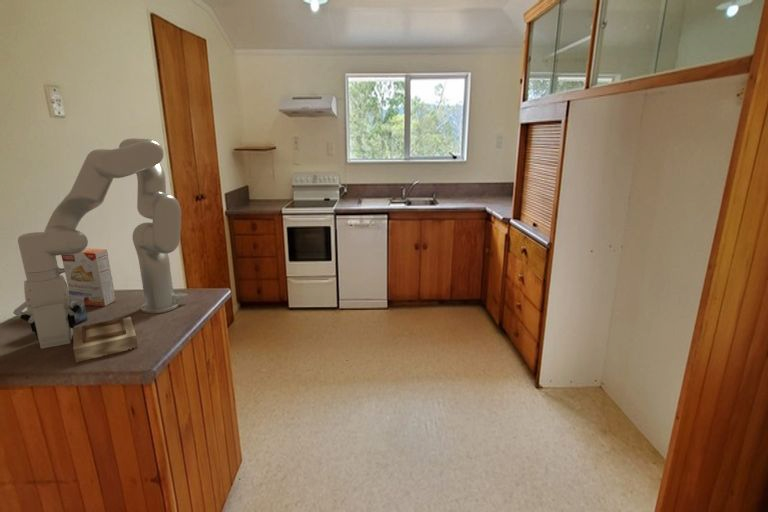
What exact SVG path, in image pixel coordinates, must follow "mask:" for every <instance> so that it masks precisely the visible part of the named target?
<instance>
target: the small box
mask: <svg viewBox="0 0 768 512" xmlns="http://www.w3.org/2000/svg"><path fill="white" fill-rule="evenodd" d="M69 294H71V295H74V296H77V297H80V298H82V299H83V293H82V292H76V291H69ZM76 303H77V302H76V301H73V300H71V306H70V307H72V308H73V307H74V306H75V305H76ZM86 310H87V309H86V305H85V304H84V302H83V303H82V305H81V306H80V308H79V309H78V310H77V312H76V313H75V314H74V316H75V321H76V324H73V327H76V326H78V325H80V324H82V323H85V322H87V321H88V317H87V311H86ZM86 320H87V321H86Z"/></svg>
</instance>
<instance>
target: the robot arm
mask: <svg viewBox="0 0 768 512" xmlns="http://www.w3.org/2000/svg"><path fill="white" fill-rule="evenodd" d="M163 159H164V149H163V147H162V146H161V144H160V143H159V142H157V141H156V140H154V139H149V138H137V137H136V138H133V137H132V138H126V139H124V140H122V141H121V142H120V144H119V145H118V148H113V149H106V148H105V149H104V148H98V149H93V150H92V151H90V152H89V153H88V154H87V155H86V157H85V160H84V162H83V164H82V165H81V168H80V170H79V173H78V174H77V176H76V179H75V181H74V183H73V186H72V188H71V190H70V191H69V192H68V194H67V195H65V197H64V198H63V199H62V201H61V202H60V203H59V204H58V205H57V207H55V209H54V210H53V212H52V214H51V215H50V218H49V220H48V223H47V225H46V226H45V228H44V231H37V232H29V233H28V232H27V233H23V234H21V235H19V237H18V238H17V245H18V249H19V253H20V256H21V261H22V265H23V269H24V274H25V278H26V280H24V283H23V288H24V289H23V290H24V299H25V301H24V302H23V303H21V304H20V305H19V306H18V307H16V308H15V309H14V310H13V311H12V313H13V315H15V316H17V317H18V318H20V320H24V321H25V322H28V324H30V328H31V331H32V332H31V333H35V336H38V334H37V329H36V325H35V321H34V316H33V312H32V309H33V308H38V307H44V306H50V305H55V304H62V303H63V304H64V306H65V309H66V312H67V313H68V319H69V323H70V328H72V329H74V326H73V324H76V321H75V316H74V314H75V313H76V312H77V310H78V309H79V308H80V306H81V305H82V303H83V302H84V299H82V298H80V297H77V296H74V295H71V294H69V289H68V285H67V280H66V279H65V277H64V275H63V273H64V274H65V268H64V267H63V268H62V267H61V268H60V267H59V265H58V261H57V256H61V255H72V254H77V253H80V252H82V251H83V250H84V249H85V248H88V244H89V243H88V241H89V240H88V238H87V236H86V235H85V234H84V233H83V232H82V231H80V230H78V229H77V227H78V225H79V223H80V222H81V220H82V218H84V217H85V215H86V214H88V213H90V212H91V211H93V210H94V209H96V208H98V207H99V206H101V205H102V204H103V203H104V201H105V198H106V196H107V194H108V191H109V190H110V186H111V184H112V182H113V180H114V179H120V178H121V179H122V178H126V177H128V176H132V175H134V174H136V178H137V201H136V204H137V205H136V208H137V211H138V213H139V215H140V216H142V218H143V217H144V218H145V219H149V220H152V222H143V223H139V225H137V226H136V227H135V228H134V229H133V231H132V242H133V245H134V248H135V251H136V255H137V259H138V265H139V270H140V278H141V284H142V291H143V296H144V303H143V304H142V305H141V306H140V309H141V311H142V312H143V313H147V314H160V313H167V312H170V311H172V310H174V309H176V308H178V307H179V306H180V305H181V304H180V300H185V299H189V294H188V293H186V292H185V293H183V292H179V293H175V291H174V287H173V286H174V285H173V278H172V272H171V262H170V257H169V254H170V253H173V252H175V250H176V249H178V247H179V245H180V240H181V227H182V208H181V205H180V203H179V200H178V199H177V198H176V197H174V196H173V195H171V194H168V193H167V190H166V189H167V184H166V175H165V171H164V168H163V166H162V164H161V162H162V161H163ZM61 274H62V275H61ZM71 300H73V301H76V302H77V303H76V305H75V306H74V307H73V308H72V307H70V306H71ZM25 309H27V313H24V312H23V311H24V310H25Z"/></svg>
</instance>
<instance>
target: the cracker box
mask: <svg viewBox="0 0 768 512" xmlns="http://www.w3.org/2000/svg"><path fill="white" fill-rule="evenodd" d="M60 256H61V260H62V264H63V268H65V273H64V275H65V278H66V279H65V281H66V284H67V287H68V290H69V291H76V292H82V293H83V299H84V304H85V306H91V305H93V306H95V307H102V308H103V307H104V308H105V307H107V306H109V305H111V304H113V303H115V302H116V301H117V299H116V294H115V288H114V282H113V276H112V271H111V266H110V260H109V259H110V258H109V253H108V250H107V249H105V248H88V247H86V248H85V249H84V250H83V251H82V252H80V253H77V254H72V255H60ZM93 306H92V307H93Z"/></svg>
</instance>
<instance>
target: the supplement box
mask: <svg viewBox="0 0 768 512" xmlns="http://www.w3.org/2000/svg"><path fill="white" fill-rule="evenodd" d="M32 312H33V316H34V321H35V325H36V329H37V334H38V335H37V337H38V342H39V347H40V350H41V349H42V350H43V349H47V348H51V347H52V348H53V347H58V346H64V345H68V344H71V342H72V338H73V336H74V330H73V328H70V323H69V319H68V313H67V312H66V309H65V306H64V304H63V303H62V304H55V305H50V306H44V307H38V308H33V309H32Z"/></svg>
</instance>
